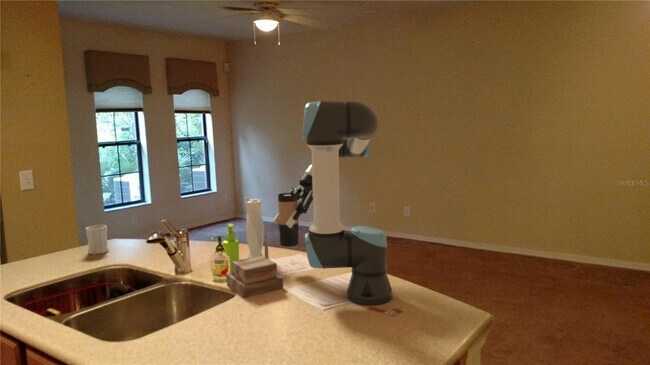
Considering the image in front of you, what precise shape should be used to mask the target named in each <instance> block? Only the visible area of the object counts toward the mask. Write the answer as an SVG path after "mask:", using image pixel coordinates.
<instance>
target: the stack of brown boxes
mask: <svg viewBox="0 0 650 365" xmlns="http://www.w3.org/2000/svg"><path fill="white" fill-rule="evenodd" d="M263 256H264V255H263ZM263 256H257V257H252V258H249V257H248V258H243V259H239V260H237V261H232V274H227V276H226V283H227V284H226V285H227V286H228V287H229V288H230V289H231V290H233V291H235V293H237V294H238V295H240V296H241V297H242V298H243V299H244V298H249V297H252V296H257V295H260V294H264V293H269V292H274V291H276V290H277V291H278V290H282V289H284V277H283V276H282V275H279V274H278V268H277V262H275V261H272V260H271V259H270V258H269V259H267V258H265V256H264V257H263Z"/></svg>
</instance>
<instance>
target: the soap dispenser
mask: <svg viewBox="0 0 650 365" xmlns="http://www.w3.org/2000/svg"><path fill="white" fill-rule="evenodd" d="M226 226H227V231H226V232H225V239H226V240H223V241H222V245H223V247H222V248H224V250H225V253H226V254H227V256H229V258H230V274H232V261H237V260H240V245H239V239H236V233H235V231H234V230H233V229H235V228H236V226H235V224H234V223H231V222H230V223H226ZM224 250H223V251H224Z"/></svg>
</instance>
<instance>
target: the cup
mask: <svg viewBox="0 0 650 365" xmlns="http://www.w3.org/2000/svg"><path fill="white" fill-rule="evenodd" d="M85 232H86V238H87V246H88V250H87V253H88V254H90V255H100V254H105V253H107V252H109V251H110V249H109V248H110V247H109V246H108V226H107V225H105V224H95V225H89V226H87V227H85Z"/></svg>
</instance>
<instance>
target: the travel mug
mask: <svg viewBox="0 0 650 365" xmlns="http://www.w3.org/2000/svg"><path fill="white" fill-rule="evenodd" d="M277 198H278V199H277V203H278V207H277V208H278V212H279V224H278V227H279V228H278V229H279V230H278V232H279V243H280V246H281V247H287V248H288V247H290V248H291V247H295V246H298V245H299V218H298V219H297V220H296V221H295V223H294V224H293V226H292V227H291V228H289V227H288V226H287V225H286V223H287V221H288V220H289V218H290V216H291V215H292V213H293V212H294V210H296V208H297V207H298V204H299V202H298V201H299V200H297V194H296V193H289V192H283V193H279V194H278V195H277ZM296 211H297V210H296Z"/></svg>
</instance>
